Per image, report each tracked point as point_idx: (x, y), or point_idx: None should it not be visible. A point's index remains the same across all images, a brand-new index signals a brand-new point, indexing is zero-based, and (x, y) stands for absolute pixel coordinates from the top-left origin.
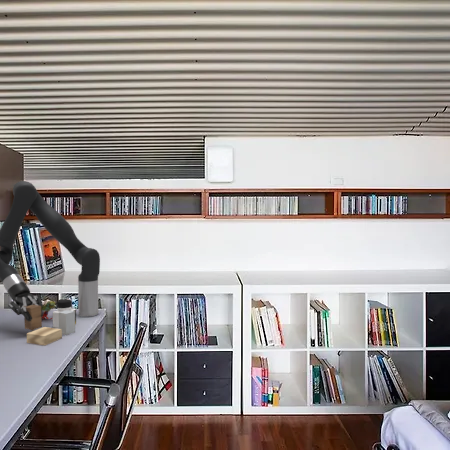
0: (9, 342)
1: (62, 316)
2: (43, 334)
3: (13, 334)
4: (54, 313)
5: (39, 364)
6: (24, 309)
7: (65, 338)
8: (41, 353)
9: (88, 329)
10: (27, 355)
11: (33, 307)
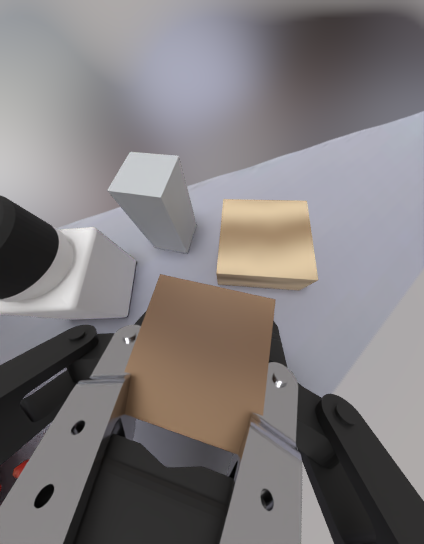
0: (328, 360)
1: (175, 190)
2: (295, 215)
3: None
4: (82, 297)
5: (394, 158)
6: (290, 397)
7: None
8: (343, 193)
9: None
10: (375, 213)
11: (233, 306)
